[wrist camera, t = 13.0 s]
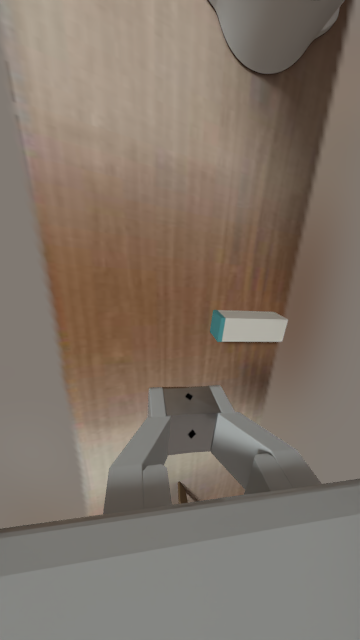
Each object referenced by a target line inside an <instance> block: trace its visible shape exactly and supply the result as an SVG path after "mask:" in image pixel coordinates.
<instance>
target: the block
mask: <svg viewBox="0 0 360 640" xmlns="http://www.w3.org/2000/svg"><path fill="white" fill-rule="evenodd" d="M287 322H288V319H286V318H284V317H282V316H281V315H279V314H277V313H275V312H258V311H227V310H213V315H212V322H211V329H210V332H211V334H212V335H213V336H214V338H215V339H216V340H217V342H282V341H283V337H284V333H285V330H286V326H287Z"/></svg>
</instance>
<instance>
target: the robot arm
mask: <svg viewBox="0 0 360 640" xmlns="http://www.w3.org/2000/svg"><path fill="white" fill-rule="evenodd" d="M209 1H210V3H211V4H212V6H213V7H214V8H215V10H216V13H217V15H218V18H219V21H220V24H221V28H222V31H223V34H224V36H225V39H226V41H227V43H228V45H229V47H230V48H231V50H232V52H233V53H234V54H235V56H236V57H237V58H238V59H239V60H240V61H241V62H242V63H243V64H244V65H245V66H247V67H248V68H250V69H251V70H253V71H256V72H259V73H263V74H273V73H278V72H281V71H283V70H285V69H287V68H289V67H290V66H291V65H293V64H294V63H295V62H296V61H297V60H298V59H299V58H300V57H301V56H302V55H303V53H304V52H305V50H306V49H307V48H308V46H309V45H310V44H311V42H312V41H313V40H314V39H316V38H317V37H319V36H321V35H322V34H324V33H325V32H327V31H328V30H329V29H330V28H331V26H332V25H333V24H334V22H335V21H336V20H337V17H338V14H339V8H340V6H341V4H342V3H343V2H344V1H345V0H209ZM205 451H211V453H212V454H213V455H214V456H215V457H216V458H217V459H218V460H219V462H220V463H221V464H222V465H223V466H224V467H225V468H226V469H227V470H228V471H229V472H230V473H231V475H232V476H233V477H234V478H235V479H236V480H237V481H238V482H239V483H240V484H241V485H242V486H243V488H244V489H245V493H244V495H240V496H233V497H225V498H218V499H211V500H204V501H197V502H190V503H182V504H175V505H172V503H171V495H170V488H169V480H168V472H167V468H166V467H165V466H164V463H165V461H166V459H167V456H168V455H174V454H182V453H190V452H205ZM0 640H360V479H355V480H347V481H340V482H333V483H326V484H321V482H320V481H319V480H318V478H317V477H316V475H315V474H314V473H313V471H312V470H311V469H310V467H309V466H308V465H307V463H306V462H305V460H304V459H303V458H302V456H301V455H300V454H299V452H298V451H297V450H296V449H295V448H293V447H292V446H290V445H288V444H287V443H286V442H284V441H283V440H281V439H279V438H278V437H276V436H275V435H273V434H272V433H270V432H269V431H267V430H266V429H264V428H263V427H261V426H260V425H258V424H256V423H255V422H253V421H252V420H250V419H249V418H247V417H246V416H244V415H243V414H241V413H240V412H235V411H234V409H233V407H232V405H231V404H230V402H229V400H228V398H227V396H226V395H225V393H224V391H223V389H222V387H221V386H220V385H211V386H198V387H162V388H161V387H153V388H149V396H148V418H147V419H146V420H145V421H144V423H143V424H142V425H141V427H140V428H139V429H138V431H137V432H136V433H135V435H134V436H133V437H132V439H131V440H130V441H129V443H128V444H127V445H126V447H125V448H124V449H123V451H122V452H121V453H120V455H119V456H118V457H117V459H116V460H115V461H114V463H113V464H112V465H111V467H110V468H109V474H108V482H107V489H106V497H105V504H104V512H103V514H102V515H95V516H88V517H81V518H74V519H67V520H59V521H53V522H45V523H38V524H31V525H23V526H16V527H9V528H2V529H0Z"/></svg>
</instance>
